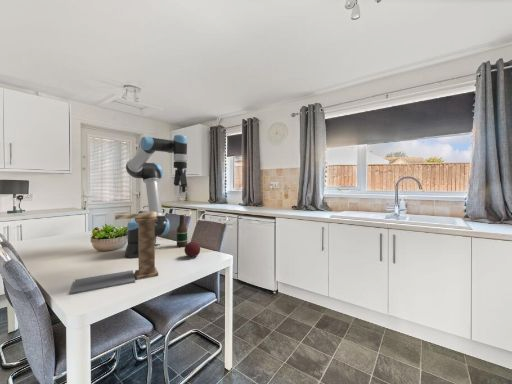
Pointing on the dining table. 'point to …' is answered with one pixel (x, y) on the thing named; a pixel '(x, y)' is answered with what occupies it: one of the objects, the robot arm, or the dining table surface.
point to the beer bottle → (181, 233)
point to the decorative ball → (192, 249)
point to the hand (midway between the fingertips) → (179, 196)
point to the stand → (146, 248)
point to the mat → (102, 281)
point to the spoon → (138, 215)
